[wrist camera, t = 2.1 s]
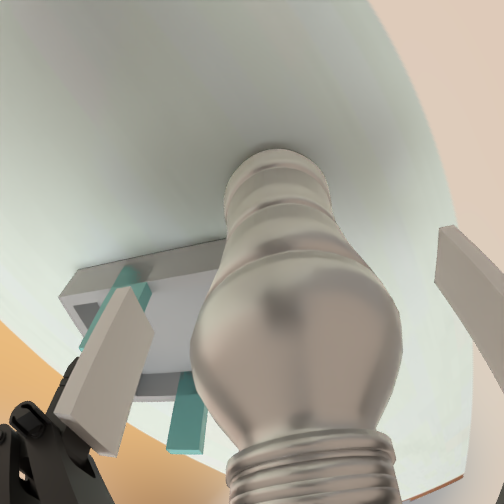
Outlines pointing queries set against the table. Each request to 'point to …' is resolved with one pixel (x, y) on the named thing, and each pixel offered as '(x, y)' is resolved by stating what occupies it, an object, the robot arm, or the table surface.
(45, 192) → the table surface
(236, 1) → the table surface
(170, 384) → the tray
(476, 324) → the robot arm
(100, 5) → the table surface
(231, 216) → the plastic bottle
